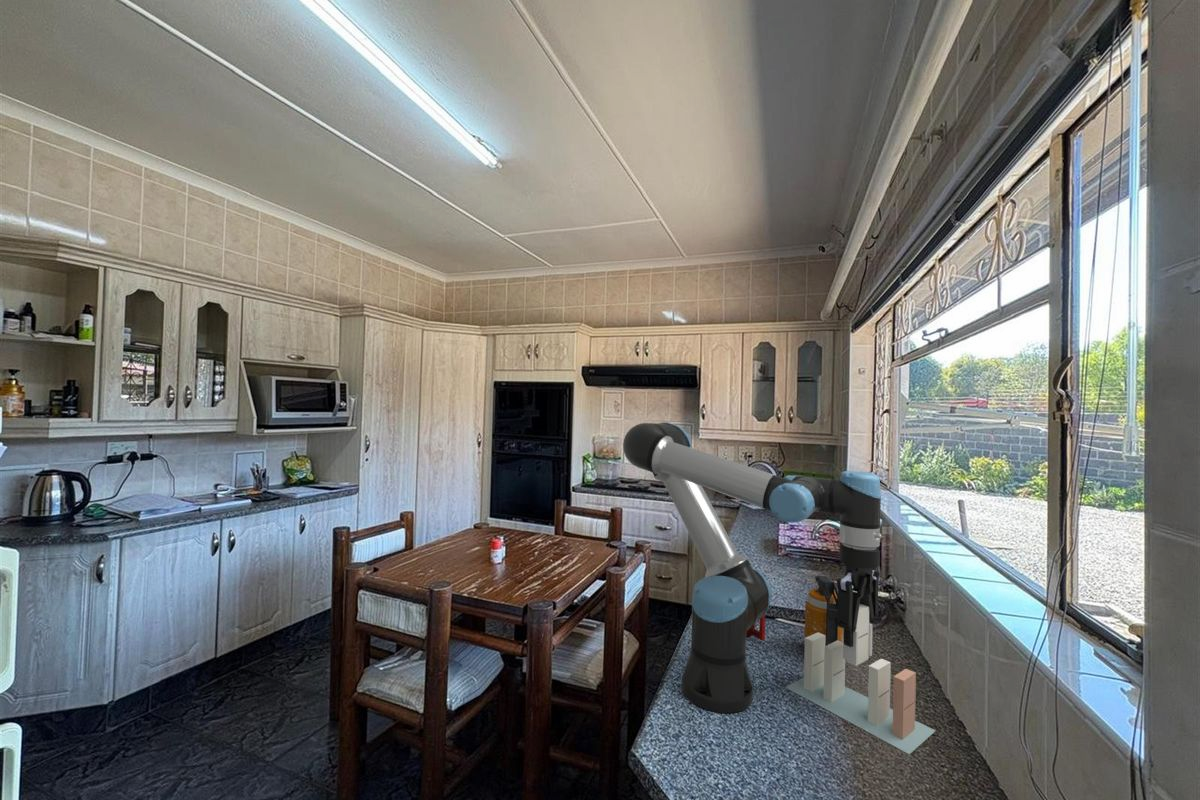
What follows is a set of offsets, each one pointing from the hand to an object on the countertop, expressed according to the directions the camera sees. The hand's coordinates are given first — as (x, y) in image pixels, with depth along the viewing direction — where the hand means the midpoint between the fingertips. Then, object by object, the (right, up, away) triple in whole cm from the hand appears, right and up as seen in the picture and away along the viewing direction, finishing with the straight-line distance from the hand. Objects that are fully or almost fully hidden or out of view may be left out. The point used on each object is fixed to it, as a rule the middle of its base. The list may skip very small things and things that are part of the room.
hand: (857, 656), depth 101 cm
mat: (-1, -11, 0) cm, 11 cm away
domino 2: (-3, -11, +4) cm, 12 cm away
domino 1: (-6, -11, +7) cm, 14 cm away
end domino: (+5, -11, -8) cm, 14 cm away
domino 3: (0, -1, 0) cm, 1 cm away
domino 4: (+2, -11, -4) cm, 11 cm away
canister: (+3, -12, +21) cm, 24 cm away
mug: (-13, -12, +34) cm, 39 cm away
